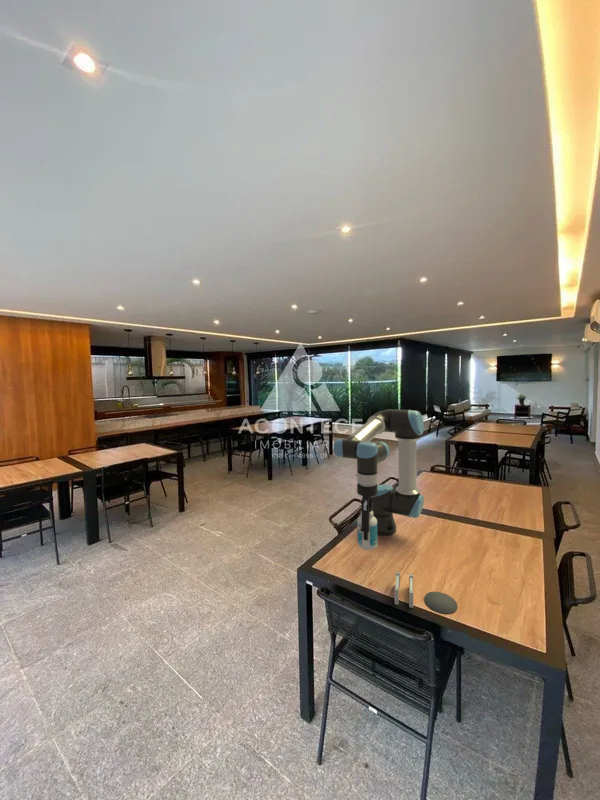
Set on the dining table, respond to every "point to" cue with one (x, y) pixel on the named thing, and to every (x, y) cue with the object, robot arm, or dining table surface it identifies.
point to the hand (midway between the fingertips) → (367, 541)
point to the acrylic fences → (399, 587)
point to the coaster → (440, 602)
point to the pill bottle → (372, 531)
